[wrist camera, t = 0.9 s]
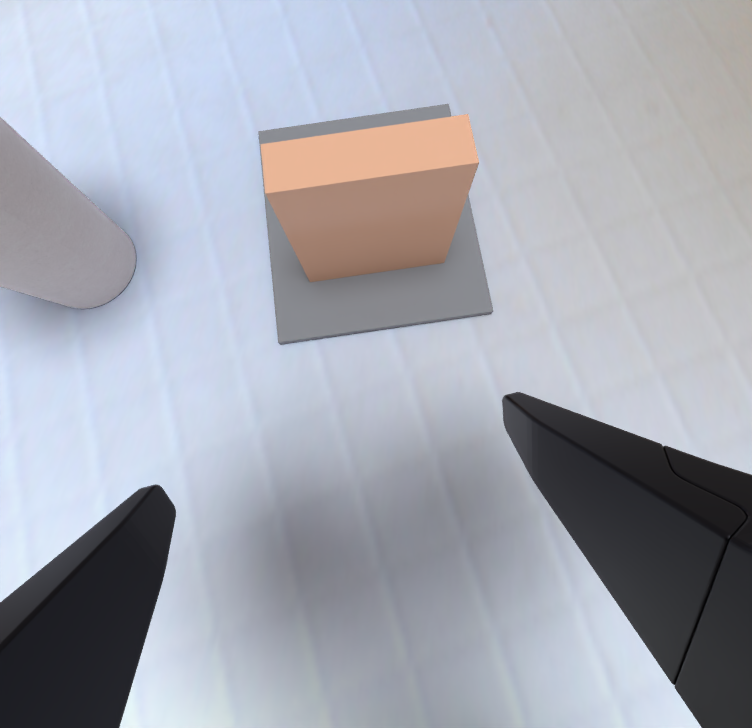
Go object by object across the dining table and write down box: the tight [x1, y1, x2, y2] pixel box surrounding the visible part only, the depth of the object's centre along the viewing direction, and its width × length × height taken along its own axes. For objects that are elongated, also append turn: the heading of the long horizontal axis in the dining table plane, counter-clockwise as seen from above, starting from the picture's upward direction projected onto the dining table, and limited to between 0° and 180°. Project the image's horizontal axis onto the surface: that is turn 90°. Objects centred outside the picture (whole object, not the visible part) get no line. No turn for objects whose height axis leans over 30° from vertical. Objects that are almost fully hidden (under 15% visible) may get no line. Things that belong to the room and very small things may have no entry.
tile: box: [261, 114, 479, 282], centre depth 20 cm, size 2×9×9 cm, turn 98°
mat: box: [258, 104, 493, 344], centre depth 25 cm, size 16×14×1 cm
